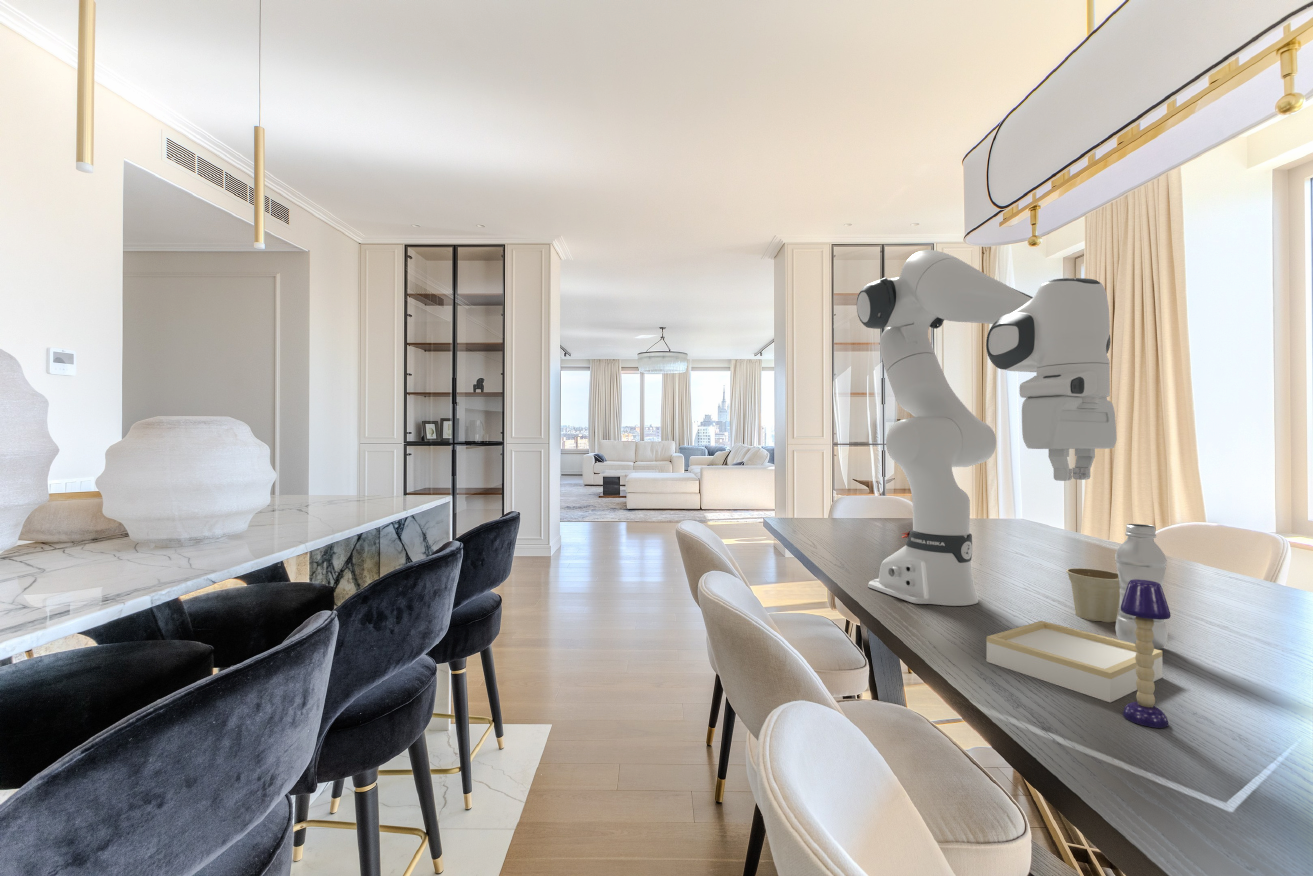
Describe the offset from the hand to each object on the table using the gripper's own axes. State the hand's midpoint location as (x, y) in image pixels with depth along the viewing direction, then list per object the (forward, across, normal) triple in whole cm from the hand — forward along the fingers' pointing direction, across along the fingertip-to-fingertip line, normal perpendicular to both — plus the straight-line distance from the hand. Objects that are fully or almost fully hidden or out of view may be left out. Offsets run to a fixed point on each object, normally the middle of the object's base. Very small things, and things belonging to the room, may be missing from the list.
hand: (1072, 480), depth 86 cm
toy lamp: (+28, +10, +12) cm, 32 cm away
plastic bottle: (+28, -20, +1) cm, 35 cm away
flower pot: (+28, -32, -10) cm, 44 cm away
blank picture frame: (+28, 0, 0) cm, 28 cm away
